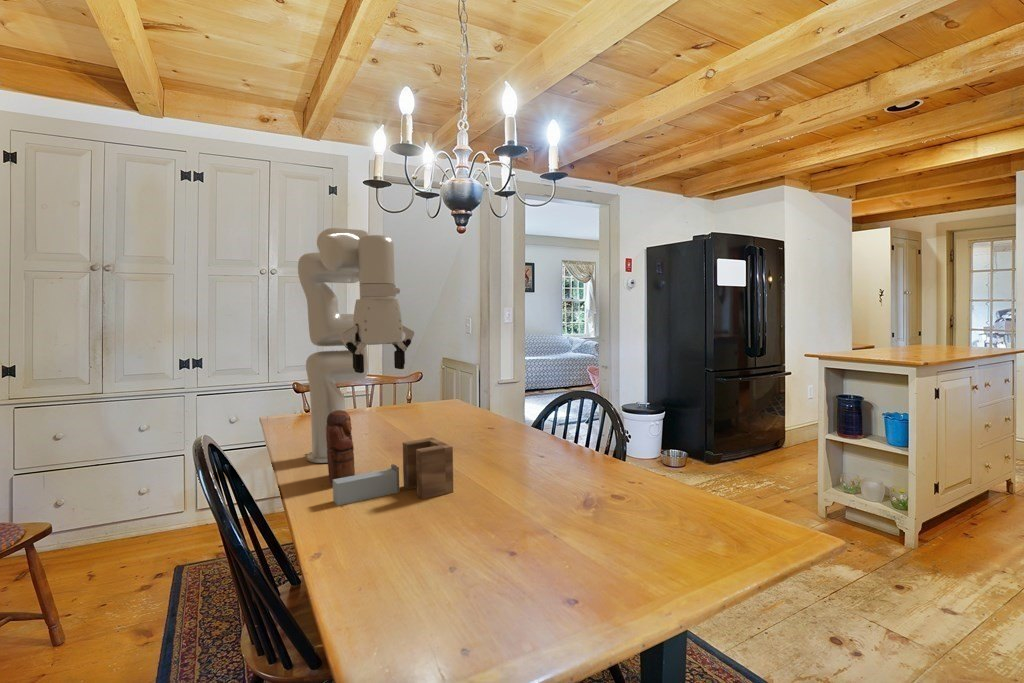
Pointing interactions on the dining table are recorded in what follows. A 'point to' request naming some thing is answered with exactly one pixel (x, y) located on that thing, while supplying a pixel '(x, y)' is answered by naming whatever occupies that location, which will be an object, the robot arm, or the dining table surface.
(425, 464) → the brown wooden u-shaped block
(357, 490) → the rail
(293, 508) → the dining table surface
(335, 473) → the wooden figurine
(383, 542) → the dining table surface
